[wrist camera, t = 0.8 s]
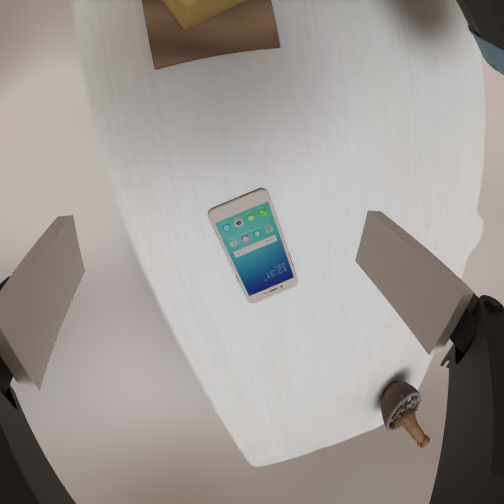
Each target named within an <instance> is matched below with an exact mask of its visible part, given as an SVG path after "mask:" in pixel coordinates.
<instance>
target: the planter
mask: <svg viewBox="0 0 504 504" xmlns="http://www.w3.org/2000/svg"><path fill="white" fill-rule="evenodd" d="M420 399H421V396H420V394H419V392H418V391H417V390H416V389H415V388H414V387H413V386H411V385H410V384H408V383H406V382H403V381H402V382H393V383H391V385H390V386H389V387H388V388H387V389H386V391H385V393H384V395H383V398H382V404H381V410H382V416H383V420H384V424H385V426H386V428H387V429H388V430H391V431H394V430H397V429H398V428H400V427H401V426H403V427H404V428H405V429H406V430H407V431H408V432H409V434H410V435H411V436H412V438H413V439H414V440H415V441H416V442H417V444H418V446H420V447H424V446H425V445H427V444H428V443H429V441H430V437H428V436H426V435H425V434H424V432H423V431H422V429H421V428H420V426H419V424H418V423H417V420H416V418H415V411H417V409H418V406H419V403H420Z"/></svg>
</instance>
